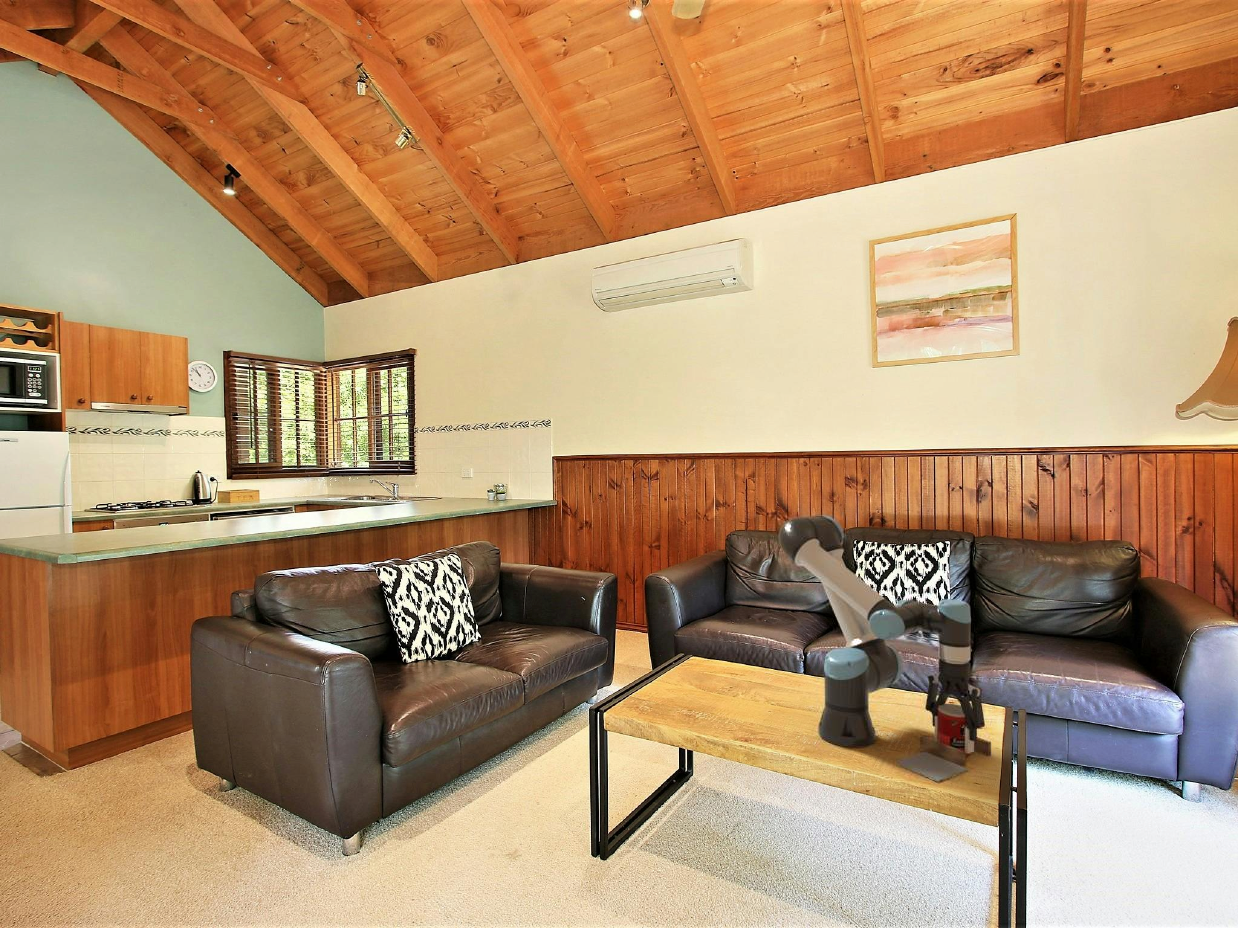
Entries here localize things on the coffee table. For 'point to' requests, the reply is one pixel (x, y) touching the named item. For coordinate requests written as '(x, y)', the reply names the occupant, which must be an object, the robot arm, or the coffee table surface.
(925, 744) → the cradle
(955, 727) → the canned food
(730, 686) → the coffee table surface
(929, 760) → the mat
